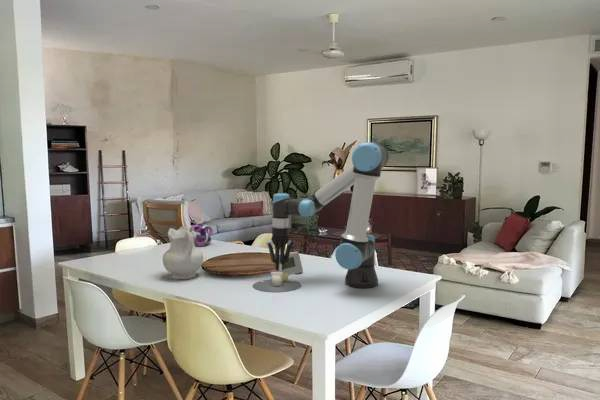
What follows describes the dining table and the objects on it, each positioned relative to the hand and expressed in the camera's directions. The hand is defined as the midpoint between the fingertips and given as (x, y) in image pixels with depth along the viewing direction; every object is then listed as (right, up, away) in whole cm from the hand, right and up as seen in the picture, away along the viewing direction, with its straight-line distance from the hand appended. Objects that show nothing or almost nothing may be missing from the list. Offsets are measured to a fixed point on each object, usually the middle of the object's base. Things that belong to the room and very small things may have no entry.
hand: (279, 277), depth 215 cm
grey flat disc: (-1, -3, -7) cm, 8 cm away
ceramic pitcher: (-47, -2, +11) cm, 48 cm away
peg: (+1, -2, -3) cm, 4 cm away
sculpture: (-57, +5, +93) cm, 109 cm away
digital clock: (+4, -2, +15) cm, 15 cm away
